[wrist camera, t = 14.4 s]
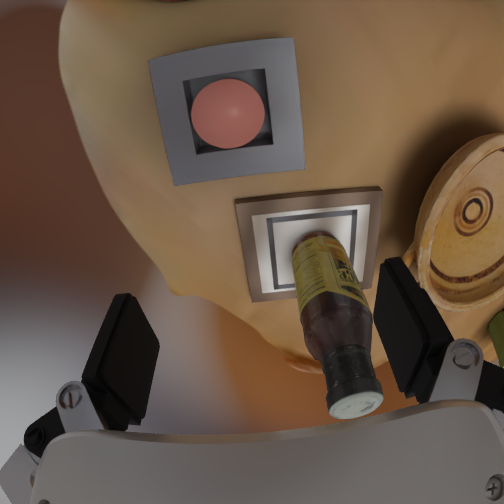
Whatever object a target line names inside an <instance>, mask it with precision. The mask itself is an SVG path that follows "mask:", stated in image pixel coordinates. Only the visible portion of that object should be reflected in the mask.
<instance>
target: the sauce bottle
mask: <svg viewBox="0 0 504 504" xmlns="http://www.w3.org/2000/svg"><path fill="white" fill-rule="evenodd" d="M292 269H293V275H294V281H295V288H296V294H297V300H298V307H299V314H300V320H301V324H302V326H303V332H304V340H305V344H306V346H307V348H308V351H309V352H310V354H311V355H312V356H313V357H314V359H315V360H318V361H319V362H320V363H321V364H322V365H323V367H322V369H323V373H324V374H325V377H326V384H327V390H328V393H327V396H326V401H327V407H328V411H329V414H330V415H332V416H333V417H335V418H338V419H349V418H350V419H351V418H356V417H360V416H363V415H366V414H368V413H370V412H371V411H373V410H375V409H376V408H377V407H378V406H379V405H380V403H381V402H382V401H383V392H382V387H381V384H380V382H379V381H378V380H377V379H376V375H375V371H374V368H373V365H372V362H371V355H370V353H371V340H372V322H373V317H372V313H371V311H370V308H369V305H368V303H367V300H366V298H365V295H364V293H363V290H362V288H361V286H360V283H359V281H358V278H357V276H356V274H355V271H354V269H353V267H352V264H351V262H350V260H349V258H348V255H347V253H346V251H345V249H344V247H343V245H342V244H341V243H340V242H339V241H338V240H337V239H336V238H335V237H334V236H333V235H331V234H329V233H326V232H317V233H316V232H315V233H310V234H307V235H305V236H304V237H303V238H301V239H300V240H299V241H298V242H297V243H296V245H295V246H294V248H293V250H292Z"/></svg>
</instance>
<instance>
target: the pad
mask: <svg viewBox="0 0 504 504" xmlns="http://www.w3.org/2000/svg"><path fill="white" fill-rule="evenodd" d="M382 196H383V190H382V189H381V188H380V187H379V186H377V187H361V188H347V189H333V190H321V191H310V192H299V193H289V194H279V195H270V196H261V197H252V198H243V199H236V203H235V205H236V211H237V217H238V223H239V229H240V235H241V241H242V247H243V253H244V259H245V265H246V270H247V276H248V282H249V288H250V294H251V300H252V302H262V301H272V300H282V299H291V298H297V294H296V288H295V281H294V275H293V269H292V250H293V248H294V246H295V245H296V243H297V242H298V241H299V240H300V239H301V238H303V237H304V236H305V235H307V234H310V233H315V232H316V233H317V232H326V233H329V234H331V235H333V236H334V237H335V238H336V239H337V240H338V241H339V242H340V243H341V244H342V245H343V247H344V249H345V251H346V253H347V255H348V258H349V260H350V262H351V264H352V267H353V269H354V271H355V274H356V276H357V278H358V281H359V283H360V286H361V288H362V289H369V288H371V287H372V281H373V275H374V268H375V261H376V254H377V246H378V238H379V229H380V219H381V208H382Z"/></svg>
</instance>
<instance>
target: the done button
mask: <svg viewBox="0 0 504 504" xmlns="http://www.w3.org/2000/svg"><path fill="white" fill-rule="evenodd" d="M264 115H265V112H264V105H263V102H262V100H261V97H260V95H259V93H258V92H257V91H256V89H255V88H254V87H253V86H251V85H250V84H248V83H247V82H245V81H243V80H239V79H234V78H227V79H221V80H218V81H215V82H213V83H211V84H209V85H207V86H206V87H204V88H203V89H202V90H201V91H200V92H199V93H198V95H197V96H196V98H195V100H194V102H193V105H192V110H191V118H192V123H193V126H194V129H195V130H196V132H197V133H198V135H199V136H200V137H201V138H202V139H203V140H204V141H206V142H207V143H209V144H211V145H213V146H216V147H219V148H236V147H240V146H242V145H245V144H247V143H248V142H250V141H251V140H252V139H253V138H254V137H255V136H256V135H257V134H258V133H259V131H260V129H261V128H262V125H263V122H264Z"/></svg>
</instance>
